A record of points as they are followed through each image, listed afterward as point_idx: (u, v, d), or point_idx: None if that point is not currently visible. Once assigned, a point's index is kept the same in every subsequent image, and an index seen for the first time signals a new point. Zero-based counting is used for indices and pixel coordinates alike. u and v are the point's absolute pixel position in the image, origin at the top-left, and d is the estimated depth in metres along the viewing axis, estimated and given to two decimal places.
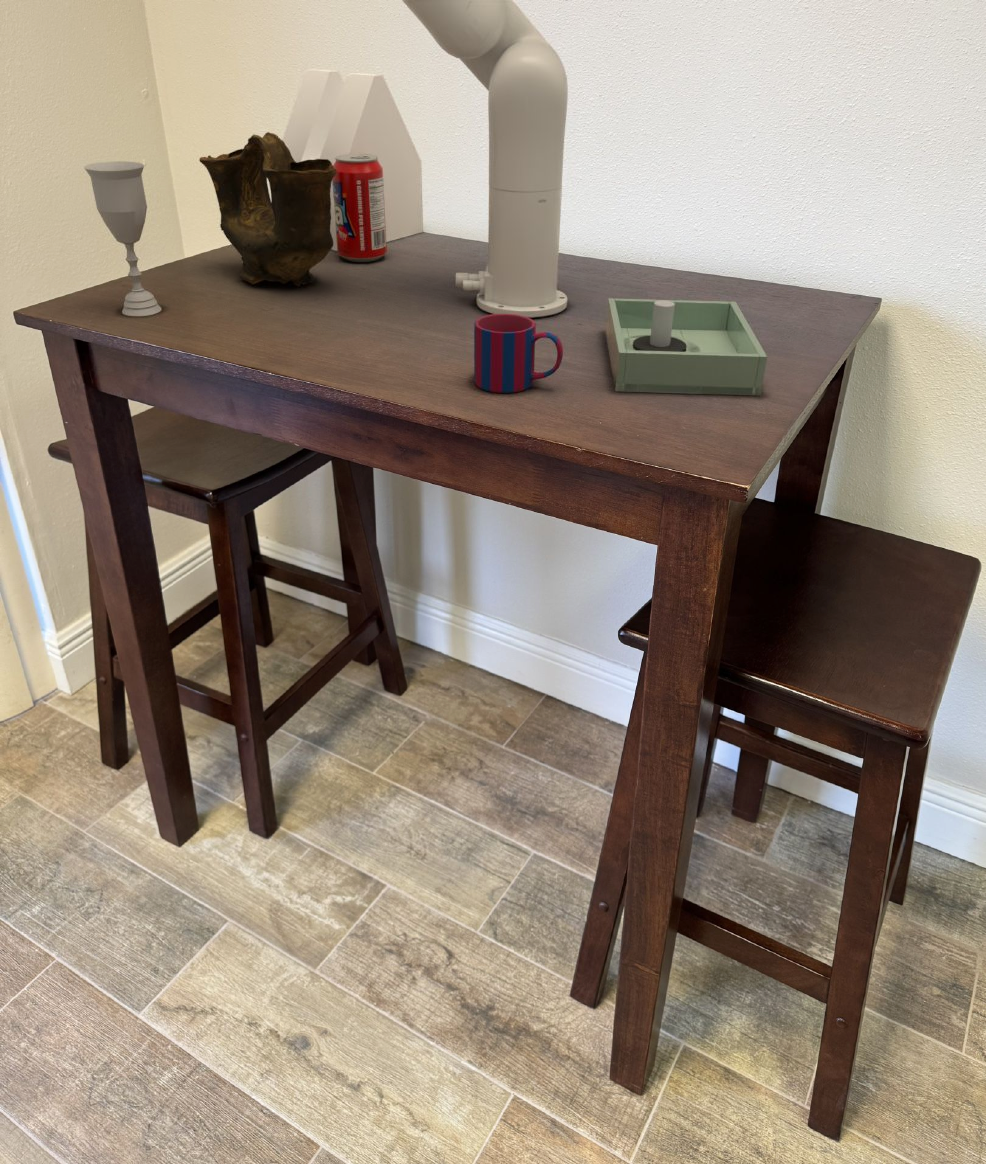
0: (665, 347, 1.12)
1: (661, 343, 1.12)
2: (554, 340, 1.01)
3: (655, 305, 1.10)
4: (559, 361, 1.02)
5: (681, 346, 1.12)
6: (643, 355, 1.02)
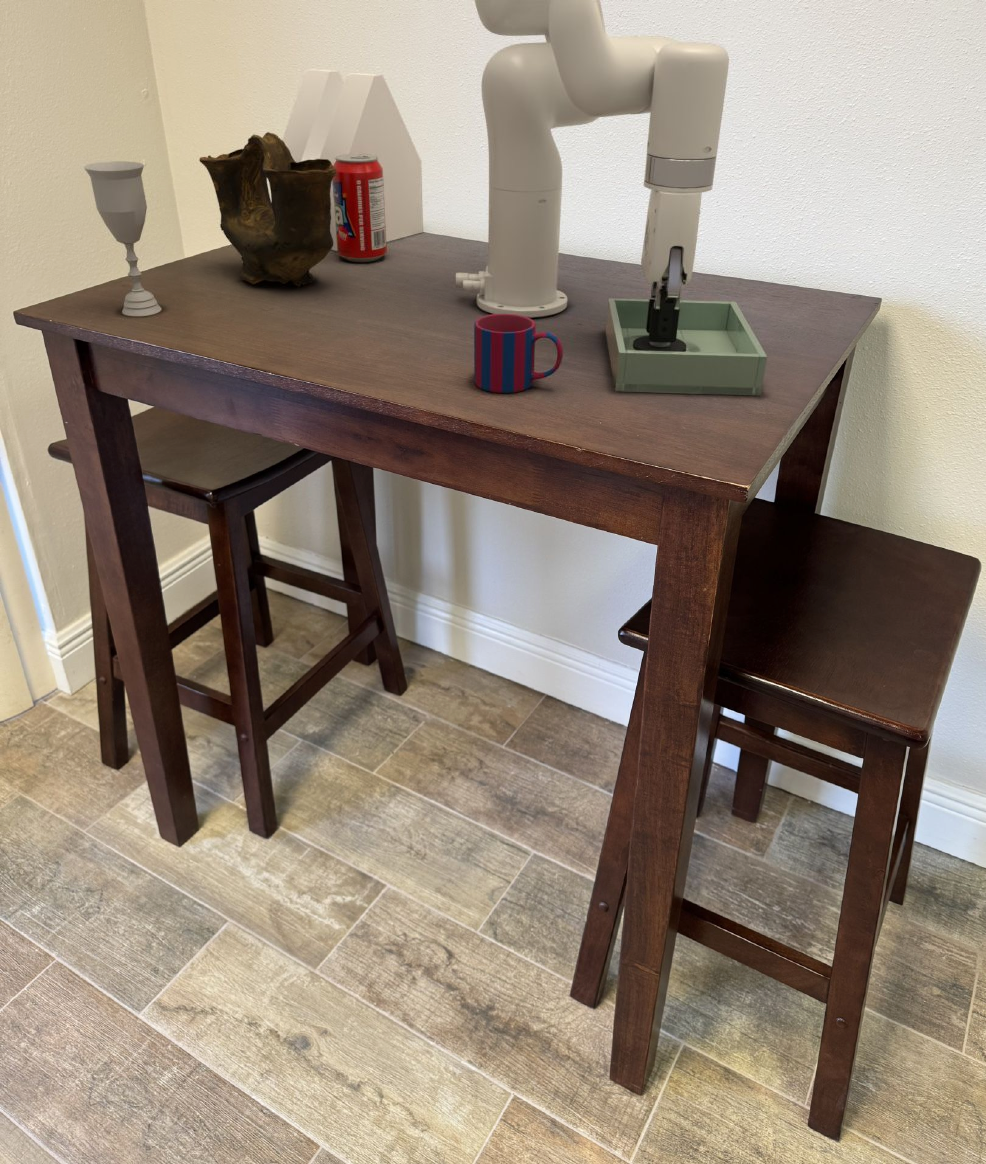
0: (665, 347, 1.12)
1: (661, 343, 1.12)
2: (554, 340, 1.01)
3: None
4: (559, 361, 1.02)
5: (681, 346, 1.12)
6: (643, 355, 1.02)
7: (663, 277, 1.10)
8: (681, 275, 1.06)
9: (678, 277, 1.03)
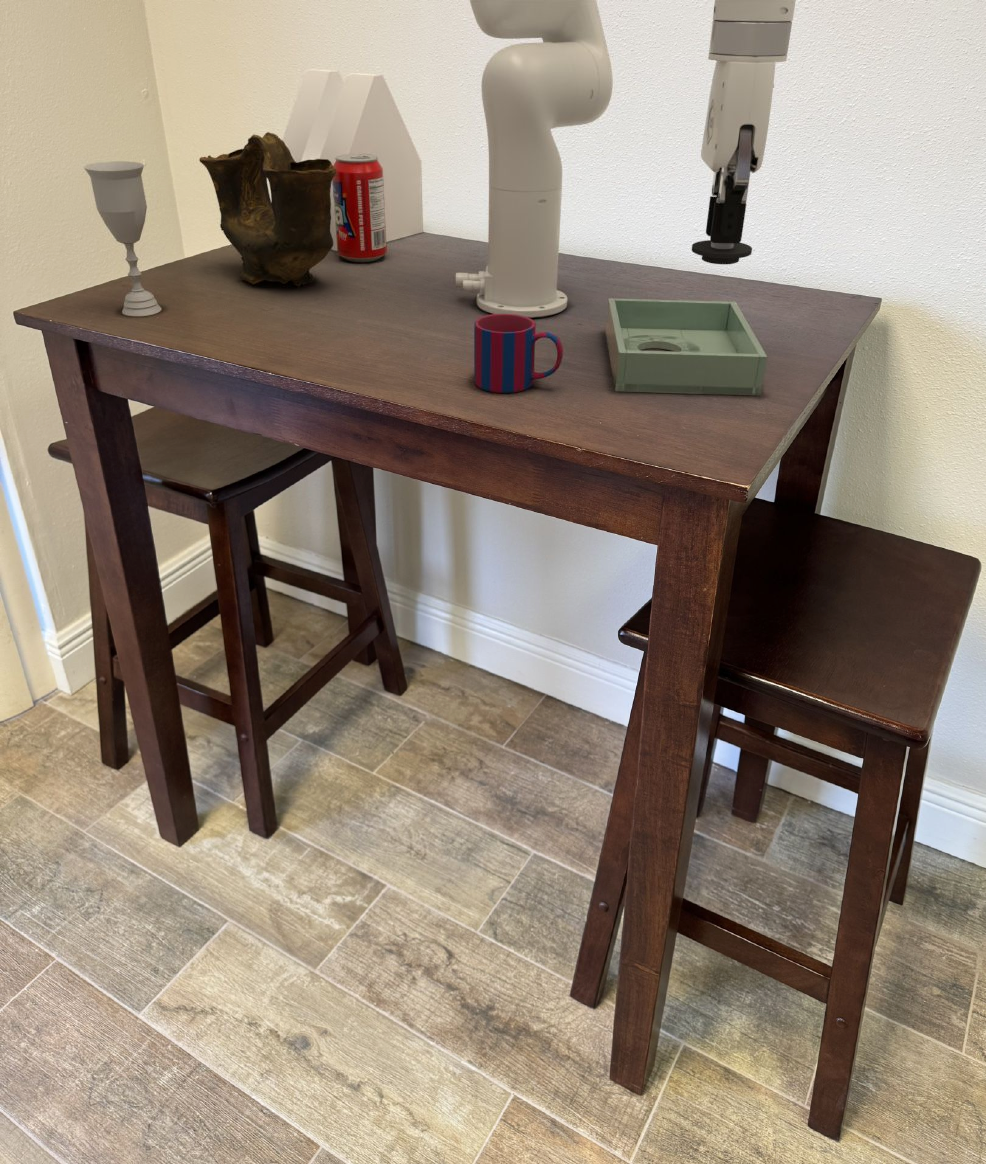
0: (728, 249, 1.01)
1: (724, 245, 1.01)
2: (554, 340, 1.01)
3: None
4: (559, 361, 1.02)
5: (746, 248, 1.01)
6: (643, 355, 1.02)
7: (726, 170, 0.99)
8: (750, 162, 0.95)
9: (748, 161, 0.92)
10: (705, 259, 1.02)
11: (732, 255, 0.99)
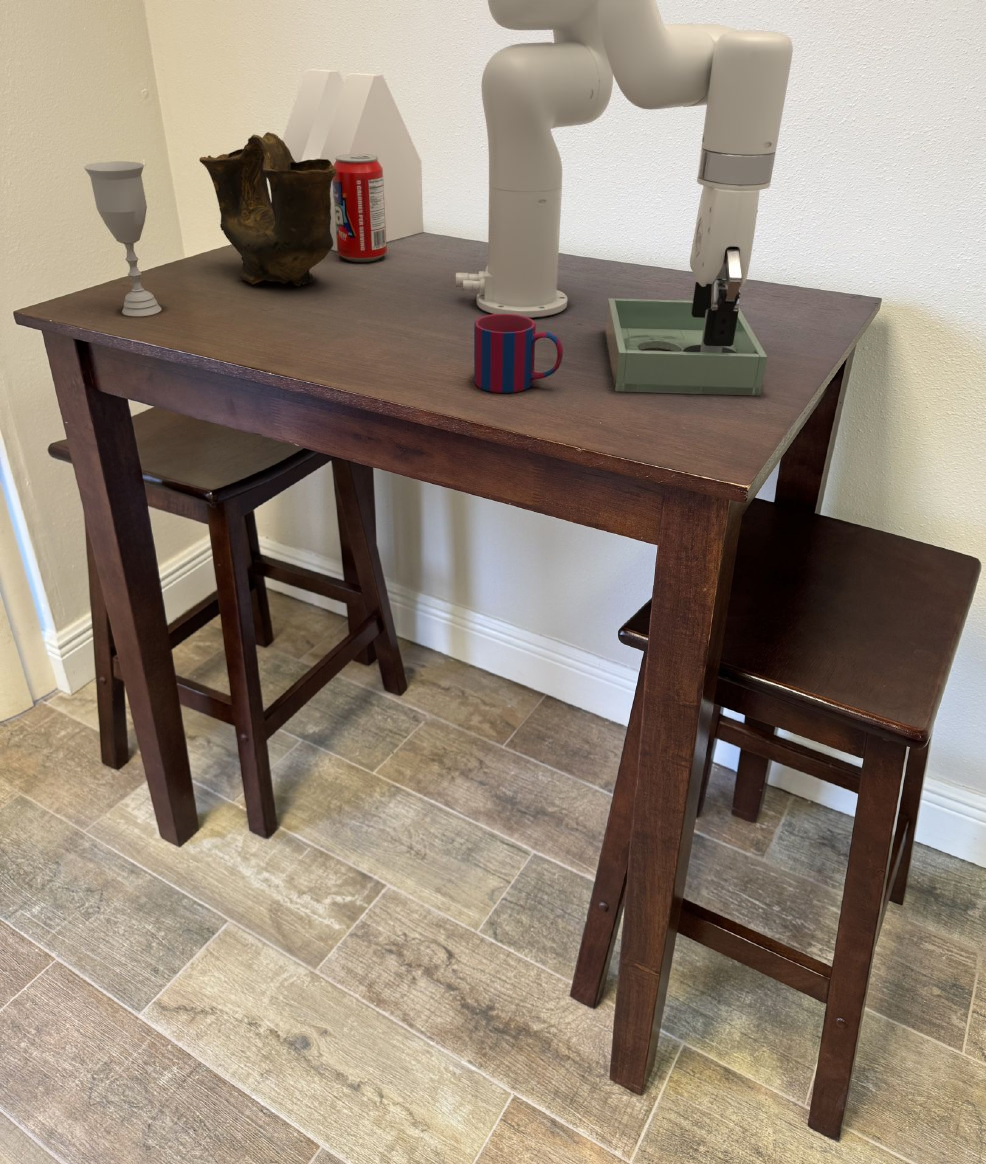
0: None
1: None
2: (554, 340, 1.01)
3: None
4: (559, 361, 1.02)
5: None
6: (643, 355, 1.02)
7: None
8: None
9: (738, 264, 0.96)
10: None
11: None
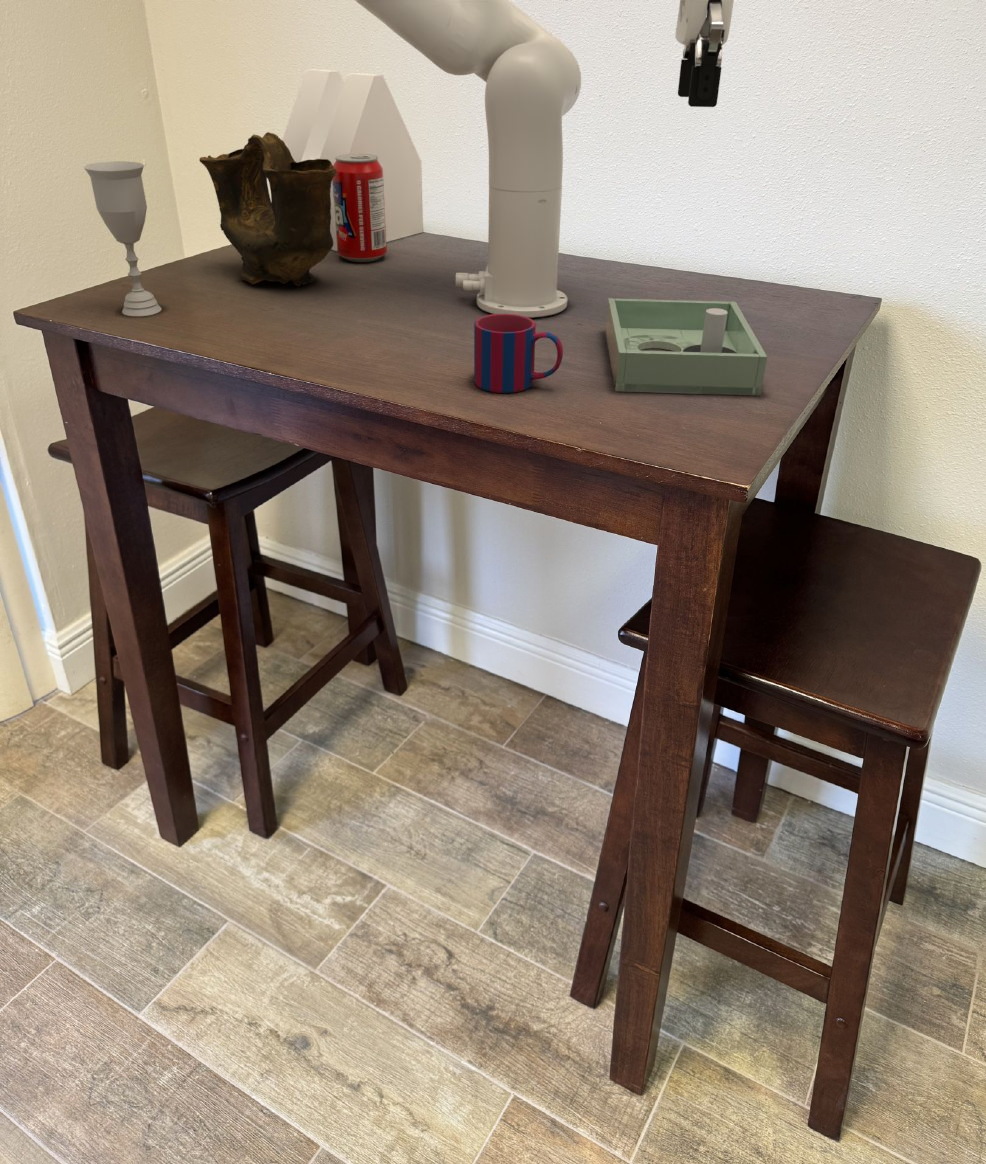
0: None
1: None
2: (554, 340, 1.01)
3: (707, 313, 1.05)
4: (559, 361, 1.02)
5: None
6: (643, 355, 1.02)
7: None
8: None
9: (720, 13, 1.00)
10: None
11: None
